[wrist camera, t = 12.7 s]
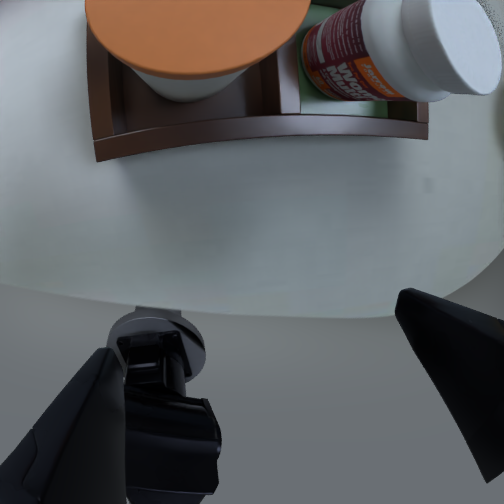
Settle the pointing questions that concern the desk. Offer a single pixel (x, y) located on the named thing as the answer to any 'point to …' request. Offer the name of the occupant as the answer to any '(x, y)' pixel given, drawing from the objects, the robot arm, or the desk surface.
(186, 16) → the pill bottle
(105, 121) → the rack
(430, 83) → the pill bottle
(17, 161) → the desk surface
